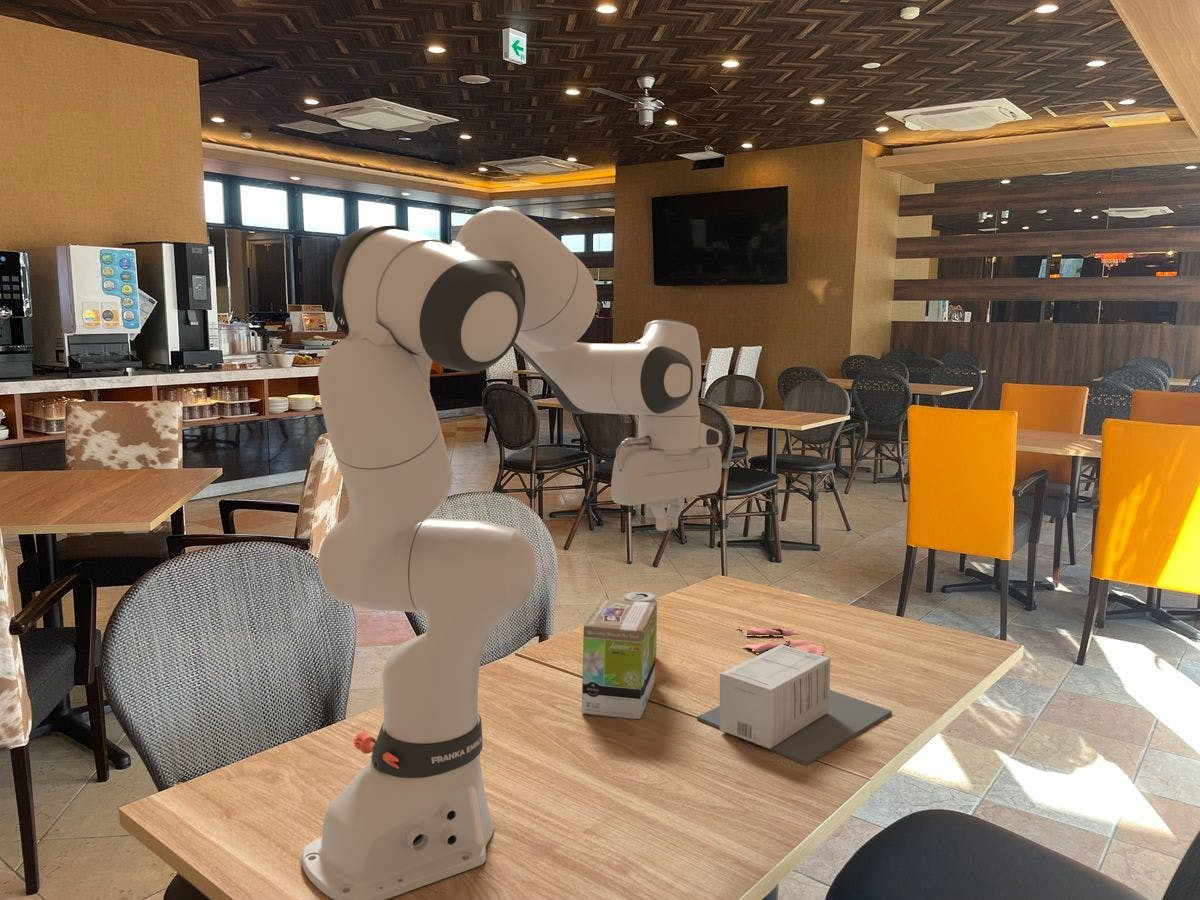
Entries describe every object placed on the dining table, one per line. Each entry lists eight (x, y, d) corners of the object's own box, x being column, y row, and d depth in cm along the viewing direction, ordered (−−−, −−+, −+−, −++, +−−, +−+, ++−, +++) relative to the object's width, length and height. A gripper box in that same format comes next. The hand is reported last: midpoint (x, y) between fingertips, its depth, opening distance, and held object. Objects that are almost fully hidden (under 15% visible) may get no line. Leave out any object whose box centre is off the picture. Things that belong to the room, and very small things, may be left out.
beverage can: (662, 656, 165) (663, 593, 164) (645, 667, 160) (646, 603, 158) (632, 649, 169) (633, 588, 167) (615, 660, 163) (615, 597, 162)
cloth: (837, 664, 163) (838, 651, 163) (718, 663, 164) (718, 650, 164) (813, 626, 184) (813, 615, 183) (707, 625, 184) (707, 614, 184)
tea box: (643, 721, 139) (644, 630, 137) (580, 715, 141) (580, 625, 139) (656, 682, 153) (657, 600, 151) (599, 678, 155) (599, 596, 153)
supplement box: (770, 751, 128) (832, 713, 140) (772, 690, 127) (833, 657, 138) (717, 730, 135) (780, 696, 146) (718, 671, 133) (781, 642, 145)
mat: (806, 765, 125) (806, 762, 125) (696, 719, 139) (697, 716, 139) (891, 713, 141) (891, 710, 141) (785, 677, 156) (785, 674, 155)
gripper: (634, 440, 118) (632, 542, 120) (730, 432, 133) (727, 524, 134) (601, 436, 123) (599, 535, 125) (697, 429, 137) (695, 518, 139)
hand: (666, 529), depth 129 cm, fingers closed
